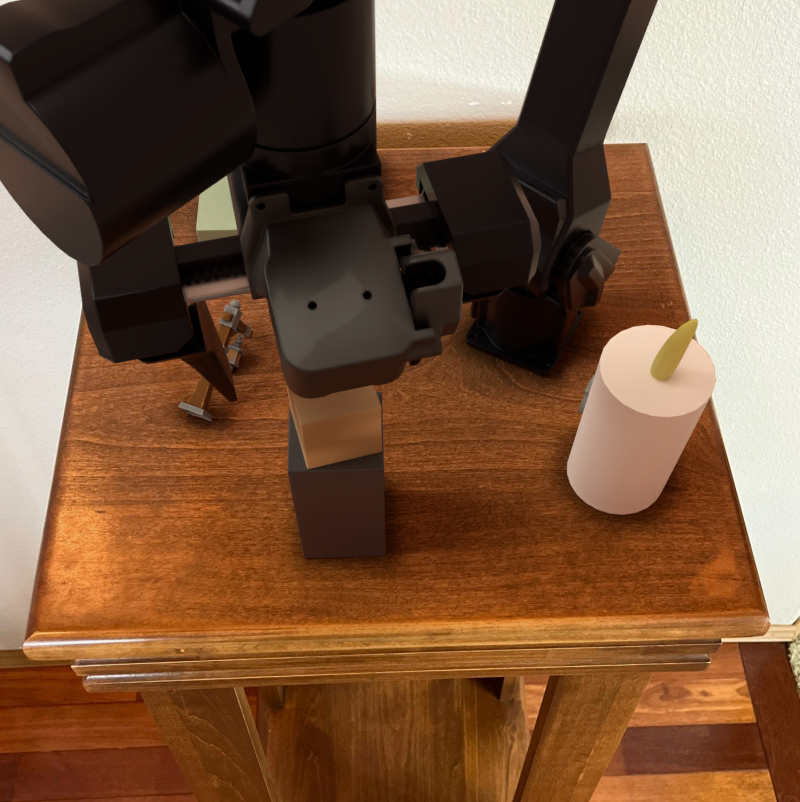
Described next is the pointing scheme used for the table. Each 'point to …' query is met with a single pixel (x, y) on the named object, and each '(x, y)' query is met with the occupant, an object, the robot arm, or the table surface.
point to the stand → (338, 502)
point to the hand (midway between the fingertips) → (322, 376)
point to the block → (337, 425)
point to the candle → (639, 416)
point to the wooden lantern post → (227, 330)
